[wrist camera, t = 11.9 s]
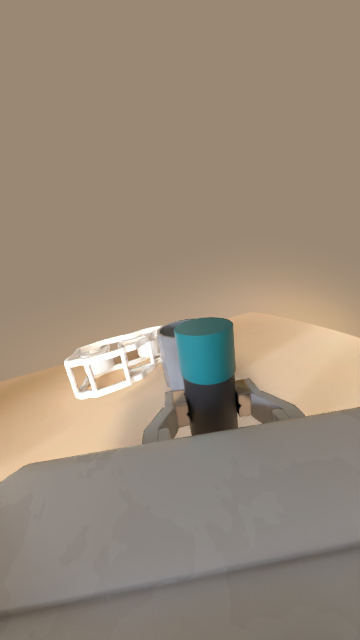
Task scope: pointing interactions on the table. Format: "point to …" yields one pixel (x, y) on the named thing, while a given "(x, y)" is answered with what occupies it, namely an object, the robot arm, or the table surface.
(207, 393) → the marker pen
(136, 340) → the white cage
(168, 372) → the pen pot
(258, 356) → the table surface
